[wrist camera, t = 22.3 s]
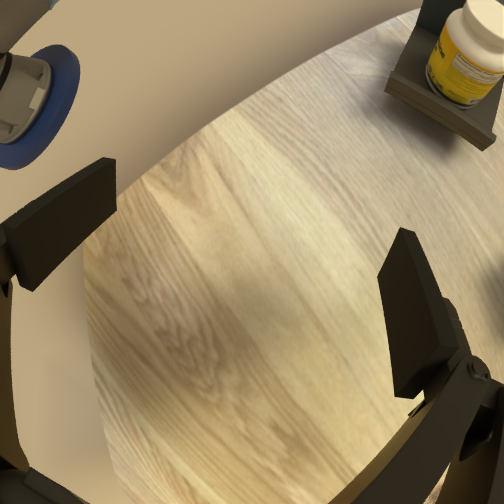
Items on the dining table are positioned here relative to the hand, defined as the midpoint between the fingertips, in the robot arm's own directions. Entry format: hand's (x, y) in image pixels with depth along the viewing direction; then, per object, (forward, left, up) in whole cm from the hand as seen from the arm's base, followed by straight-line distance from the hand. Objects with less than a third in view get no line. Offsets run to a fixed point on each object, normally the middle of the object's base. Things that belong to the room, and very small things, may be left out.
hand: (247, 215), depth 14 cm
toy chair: (+7, +23, -18) cm, 30 cm away
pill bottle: (+7, +21, -13) cm, 26 cm away
